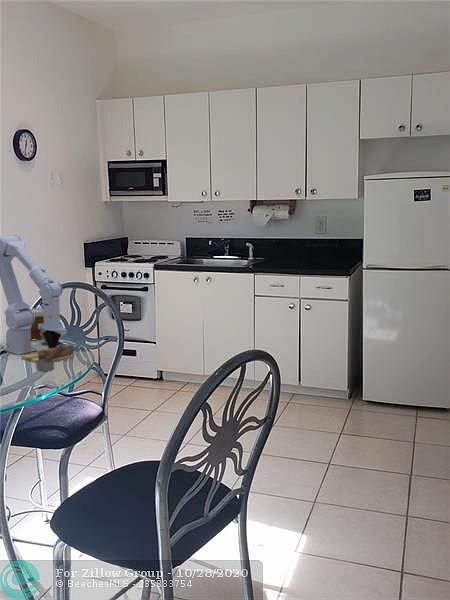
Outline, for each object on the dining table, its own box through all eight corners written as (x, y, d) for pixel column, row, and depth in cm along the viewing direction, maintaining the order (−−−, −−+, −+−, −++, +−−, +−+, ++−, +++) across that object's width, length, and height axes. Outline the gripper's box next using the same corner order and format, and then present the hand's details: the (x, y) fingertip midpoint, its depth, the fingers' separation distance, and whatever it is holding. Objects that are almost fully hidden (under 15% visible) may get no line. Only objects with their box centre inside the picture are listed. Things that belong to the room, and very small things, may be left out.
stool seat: (21, 358, 224) (21, 355, 224) (53, 351, 235) (53, 348, 235) (41, 365, 217) (41, 361, 216) (73, 357, 228) (73, 354, 227)
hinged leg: (41, 360, 217) (41, 351, 216) (36, 359, 218) (36, 349, 218) (73, 353, 227) (73, 343, 227) (68, 351, 229) (68, 342, 228)
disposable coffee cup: (39, 342, 248) (38, 313, 246) (18, 340, 250) (17, 311, 248) (50, 337, 257) (50, 309, 255) (29, 335, 259) (29, 307, 257)
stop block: (36, 368, 212) (36, 360, 212) (45, 366, 215) (44, 358, 214) (45, 371, 209) (44, 363, 209) (53, 369, 212) (53, 361, 211)
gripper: (73, 316, 224) (73, 352, 226) (48, 310, 233) (49, 345, 235) (57, 319, 218) (57, 355, 221) (32, 313, 227) (33, 348, 230)
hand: (52, 350), depth 228 cm, fingers closed
